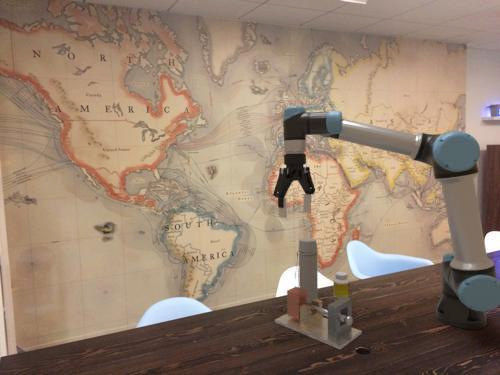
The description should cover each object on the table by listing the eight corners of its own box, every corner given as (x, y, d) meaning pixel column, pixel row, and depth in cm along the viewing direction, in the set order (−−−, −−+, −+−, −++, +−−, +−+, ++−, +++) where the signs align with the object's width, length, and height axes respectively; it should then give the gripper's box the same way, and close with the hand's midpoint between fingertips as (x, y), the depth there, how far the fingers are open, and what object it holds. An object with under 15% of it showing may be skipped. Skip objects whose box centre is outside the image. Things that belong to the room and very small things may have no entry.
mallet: (356, 332, 111) (356, 305, 110) (348, 338, 107) (348, 310, 107) (296, 310, 128) (295, 286, 127) (287, 315, 124) (287, 290, 124)
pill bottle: (351, 303, 138) (351, 275, 137) (335, 303, 138) (335, 276, 137) (347, 297, 144) (347, 270, 143) (332, 297, 144) (331, 271, 144)
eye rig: (361, 333, 114) (361, 299, 113) (340, 349, 105) (340, 312, 104) (297, 310, 133) (297, 280, 132) (274, 322, 124) (274, 290, 123)
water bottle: (317, 297, 145) (316, 237, 143) (318, 305, 137) (318, 242, 135) (294, 297, 146) (293, 237, 144) (295, 304, 138) (294, 242, 136)
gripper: (307, 153, 131) (308, 209, 133) (261, 153, 114) (262, 218, 116) (324, 152, 126) (325, 211, 128) (279, 153, 108) (280, 221, 110)
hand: (295, 214), depth 122 cm, fingers open, 13 cm apart
